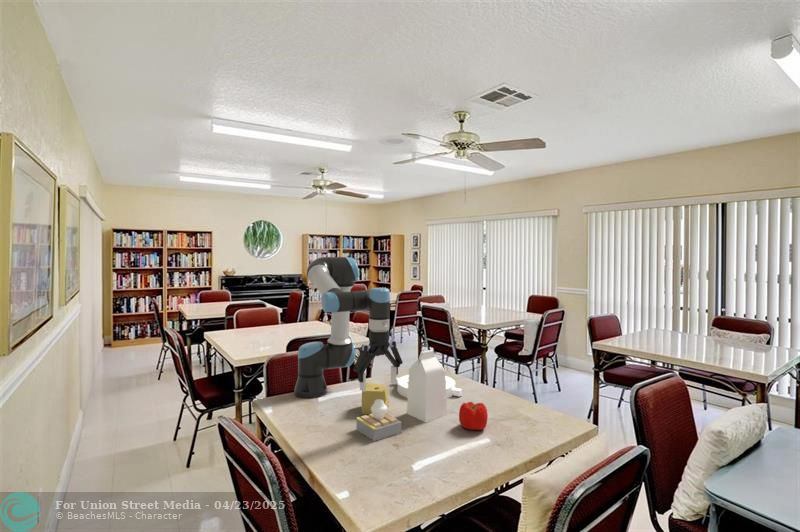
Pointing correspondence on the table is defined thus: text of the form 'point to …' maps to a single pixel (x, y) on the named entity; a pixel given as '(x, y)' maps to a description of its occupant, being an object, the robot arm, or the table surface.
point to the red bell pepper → (473, 416)
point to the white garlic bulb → (379, 409)
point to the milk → (427, 388)
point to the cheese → (373, 396)
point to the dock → (378, 426)
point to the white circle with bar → (450, 383)
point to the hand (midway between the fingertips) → (378, 387)
